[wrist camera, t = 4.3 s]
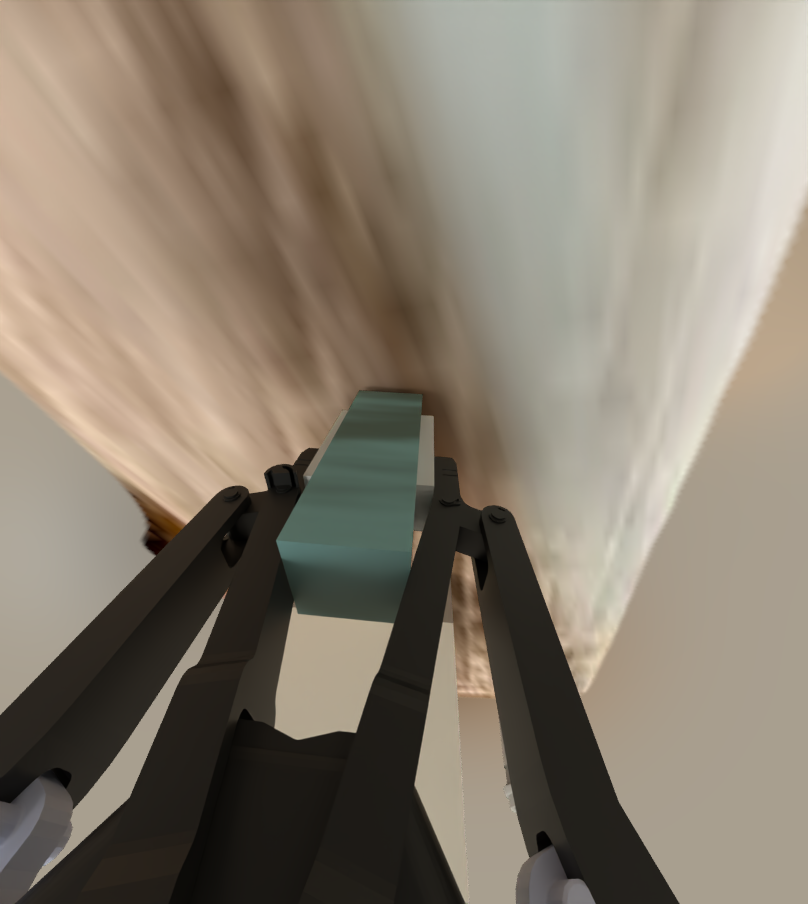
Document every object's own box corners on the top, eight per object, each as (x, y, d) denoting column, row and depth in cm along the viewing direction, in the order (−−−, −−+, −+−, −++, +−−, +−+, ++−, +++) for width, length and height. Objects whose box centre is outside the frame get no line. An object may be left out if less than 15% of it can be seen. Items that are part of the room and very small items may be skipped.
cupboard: (307, 555, 30) (107, 1030, 12) (454, 569, 29) (493, 1097, 11) (320, 613, 36) (201, 989, 17) (443, 626, 35) (455, 1030, 17)
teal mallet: (359, 390, 19) (275, 540, 9) (422, 394, 19) (411, 552, 9) (368, 580, 30) (336, 744, 20) (408, 584, 29) (396, 751, 19)
